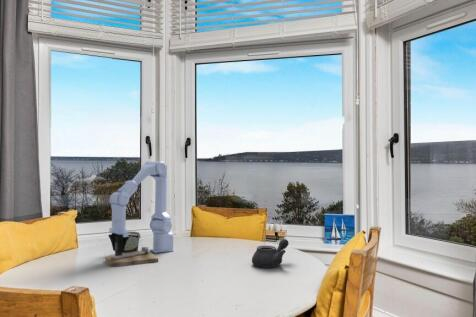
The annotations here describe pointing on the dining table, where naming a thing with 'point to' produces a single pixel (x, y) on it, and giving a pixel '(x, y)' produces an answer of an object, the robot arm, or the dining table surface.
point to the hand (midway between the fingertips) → (118, 251)
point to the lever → (122, 255)
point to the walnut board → (131, 260)
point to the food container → (132, 242)
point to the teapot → (269, 255)
